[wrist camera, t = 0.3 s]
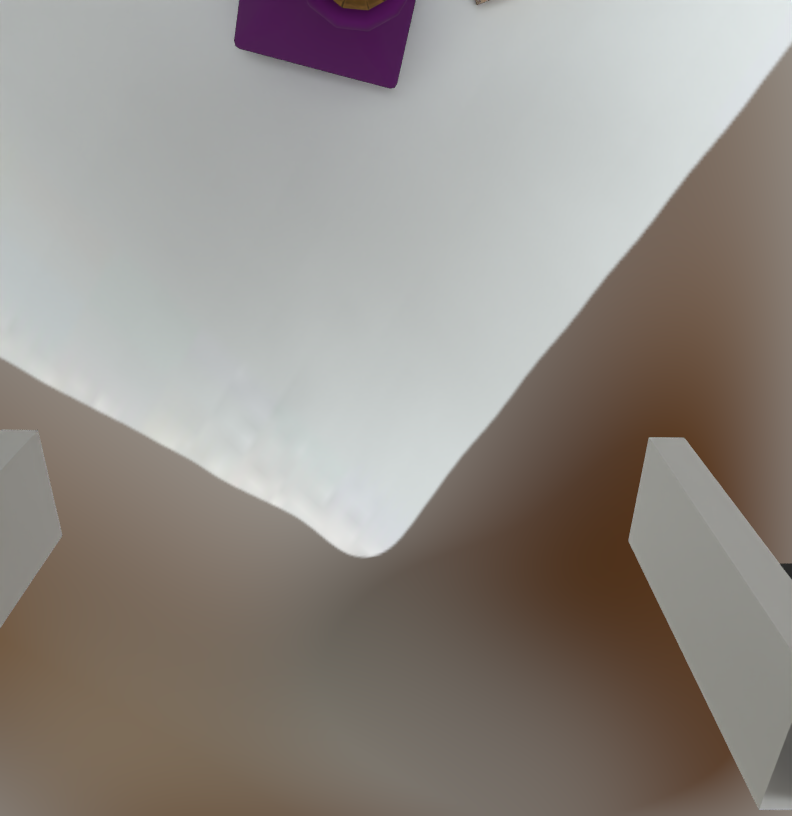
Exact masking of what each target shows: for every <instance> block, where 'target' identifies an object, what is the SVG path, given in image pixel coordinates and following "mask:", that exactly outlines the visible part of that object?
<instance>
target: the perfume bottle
mask: <svg viewBox="0 0 792 816" xmlns="http://www.w3.org/2000/svg"><path fill="white" fill-rule="evenodd" d="M415 1H416V0H239V7H238V15H237V23H236V31H235V39H234V42H235V46H237V47H238V48H239V49H243V50H247V51H250V52H254V53H258V54H262V55H265V56H269V57H273V58H277V59H281V60H284V61H288V62H292V63H296V64H299V65H303V66H307V67H311V68H314V69H318V70H322V71H326V72H330V73H333V74H337V75H341V76H345V77H348V78H352V79H356V80H360V81H363V82H367V83H371V84H375V85H379V86H382V87H386V88H395V86H396V85H397V82H398V77H399V73H400V68H401V64H402V59H403V55H404V50H405V46H406V41H407V37H408V32H409V28H410V23H411V19H412V14H413V10H414V5H415Z"/></svg>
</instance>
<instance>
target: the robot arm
mask: <svg viewBox="0 0 792 816" xmlns="http://www.w3.org/2000/svg"><path fill="white" fill-rule="evenodd" d="M61 537H62V532H61V528H60V523H59V519H58V515H57V510H56V506H55V502H54V497H53V493H52V489H51V484H50V480H49V476H48V471H47V467H46V463H45V459H44V454H43V450H42V446H41V441H40V437H39V433H38V430H1V431H0V627H1V626H2V624H3V623H4V621H5V620H6V618H7V617H8V615H9V614H10V612H11V611H12V609H13V608H14V607H15V605H16V604H17V602H18V600H19V599H20V598H21V596H22V595H23V593H24V592H25V590H26V589H27V587H28V586H29V584H30V582H31V581H32V580H33V578H34V576H35V575H36V574H37V572H38V571H39V569H40V568H41V566H42V565H43V563H44V562H45V560H46V559H47V557H48V556H49V554H50V553H51V551H52V550H53V549H54V547H55V545H56V544H57V543H58V541H59V540H60V538H61ZM629 543H630V545H631V547H632V549H633V551H634V553H635V555H636V557H637V559H638V561H639V564H640V566H641V568H642V570H643V572H644V574H645V576H646V578H647V580H648V582H649V584H650V586H651V588H652V591H653V593H654V595H655V597H656V599H657V601H658V603H659V605H660V607H661V609H662V611H663V613H664V615H665V617H666V619H667V621H668V623H669V626H670V627H671V630H672V632H673V634H674V636H675V638H676V640H677V642H678V644H679V646H680V648H681V650H682V652H683V654H684V656H685V658H686V661H687V663H688V665H689V667H690V669H691V671H692V673H693V675H694V677H695V679H696V681H697V683H698V685H699V687H700V689H701V692H702V694H703V696H704V698H705V700H706V702H707V704H708V706H709V708H710V710H711V712H712V714H713V716H714V718H715V720H716V722H717V725H718V726H719V729H720V731H721V733H722V735H723V737H724V739H725V741H726V743H727V745H728V747H729V749H730V751H731V753H732V755H733V757H734V760H735V762H736V763H737V766H738V768H739V770H740V772H741V774H742V776H743V778H744V780H745V782H746V784H747V786H748V788H749V790H750V792H751V795H752V797H753V799H754V801H755V803H756V805H757V807H758V809H759V810H792V564H779V562H778V561H777V560H776V558H775V557H774V556H773V554H772V553H771V552H770V550H769V549H768V548H767V547H766V545H765V544H764V543H763V541H762V540H761V539H760V538H759V536H758V535H757V533H756V532H755V531H754V529H753V528H752V527H751V525H750V524H749V523H748V521H747V520H746V519H745V517H744V516H743V515H742V513H741V512H740V511H739V509H738V508H737V507H736V506H735V504H734V503H733V502H732V500H731V499H730V498H729V496H728V495H727V494H726V492H725V491H724V490H723V488H722V487H721V486H720V484H719V483H718V482H717V480H716V479H715V478H714V477H713V475H712V474H711V473H710V471H709V470H708V469H707V467H706V466H705V465H704V463H703V462H702V461H701V459H700V458H699V457H698V455H697V454H696V453H695V451H694V450H693V449H692V447H691V446H690V445H689V443H688V442H687V441H686V439H685V438H657V437H655V438H654V437H650V438H649V440H648V445H647V451H646V455H645V460H644V465H643V470H642V475H641V480H640V485H639V491H638V495H637V500H636V505H635V510H634V516H633V520H632V526H631V531H630V536H629Z"/></svg>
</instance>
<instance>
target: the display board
mask: <svg viewBox="0 0 792 816" xmlns="http://www.w3.org/2000/svg"><path fill="white" fill-rule="evenodd" d="M486 1H489V0H476V4H477V5H478V4H481V3H484V2H486Z"/></svg>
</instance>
